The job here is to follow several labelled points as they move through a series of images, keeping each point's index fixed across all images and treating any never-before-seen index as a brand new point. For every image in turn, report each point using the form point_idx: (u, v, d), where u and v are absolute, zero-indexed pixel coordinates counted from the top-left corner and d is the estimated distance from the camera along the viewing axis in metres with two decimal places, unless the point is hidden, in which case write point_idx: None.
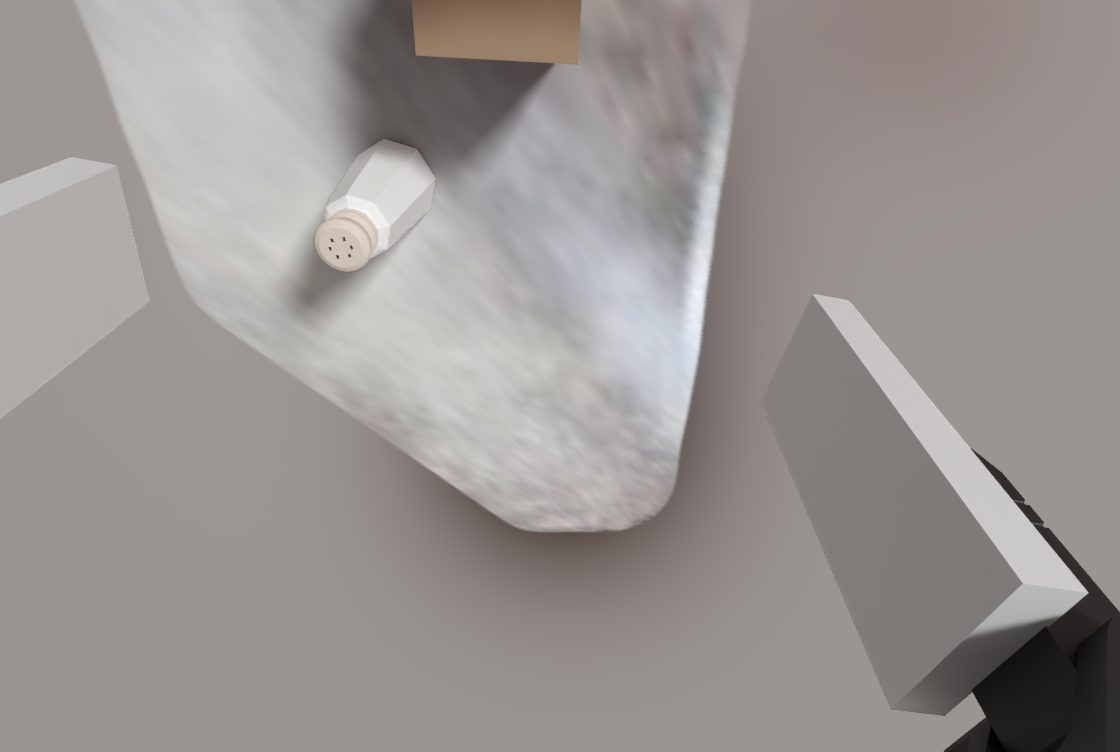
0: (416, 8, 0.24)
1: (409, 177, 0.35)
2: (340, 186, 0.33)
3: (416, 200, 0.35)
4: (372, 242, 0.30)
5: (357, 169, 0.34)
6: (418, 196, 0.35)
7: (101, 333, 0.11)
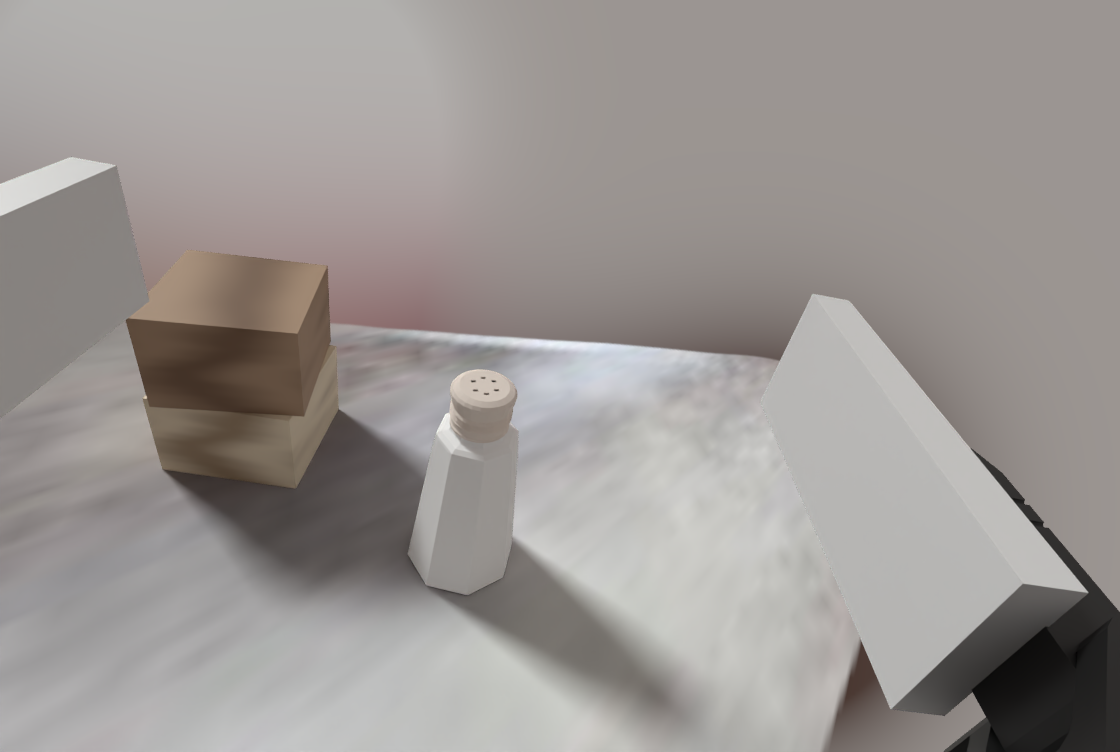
0: (257, 327, 0.27)
1: None
2: (439, 492, 0.26)
3: None
4: None
5: (426, 508, 0.27)
6: None
7: (101, 334, 0.11)
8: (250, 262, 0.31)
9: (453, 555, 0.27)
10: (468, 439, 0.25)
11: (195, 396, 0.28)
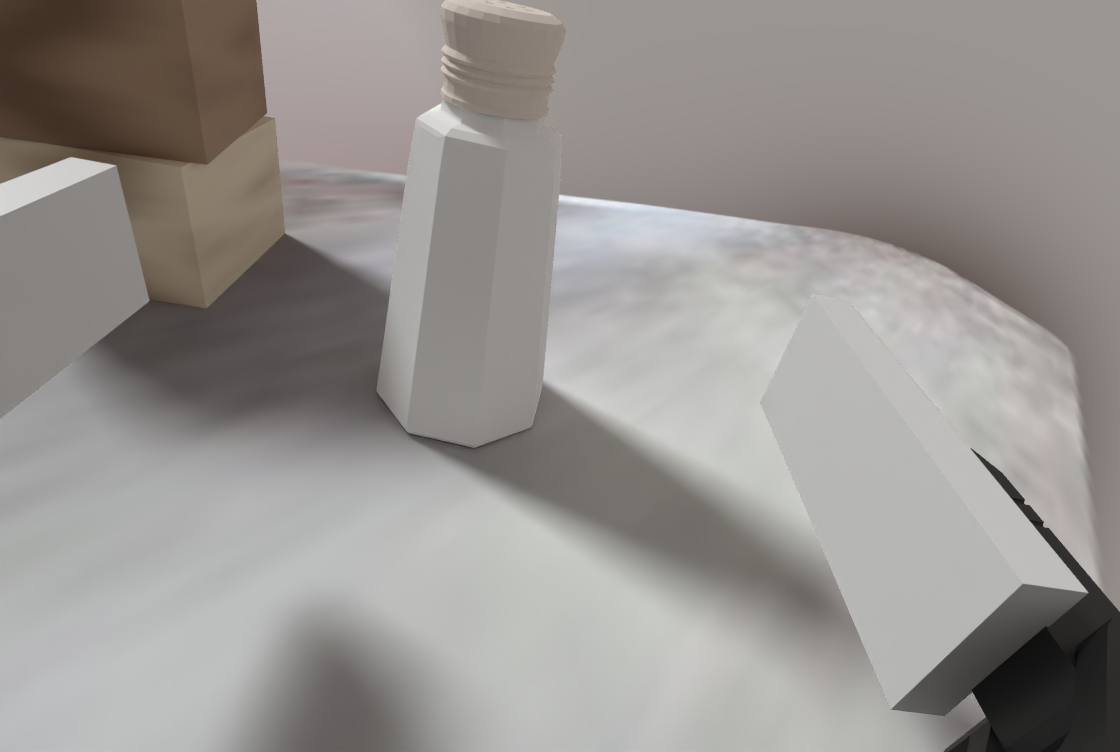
0: None
1: None
2: (424, 235, 0.14)
3: None
4: None
5: (404, 284, 0.16)
6: None
7: (101, 334, 0.11)
8: None
9: (450, 367, 0.16)
10: (476, 107, 0.13)
11: (15, 110, 0.17)
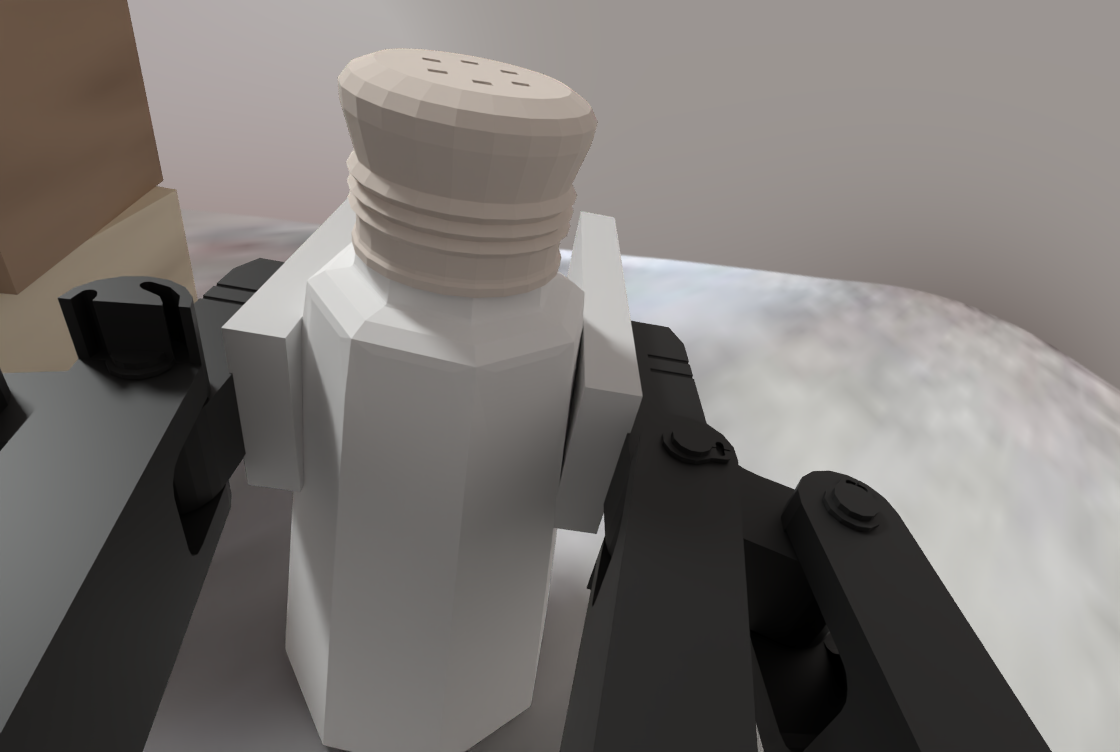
0: None
1: None
2: (328, 488, 0.08)
3: None
4: None
5: (307, 538, 0.09)
6: None
7: None
8: None
9: (389, 675, 0.09)
10: (414, 281, 0.06)
11: None
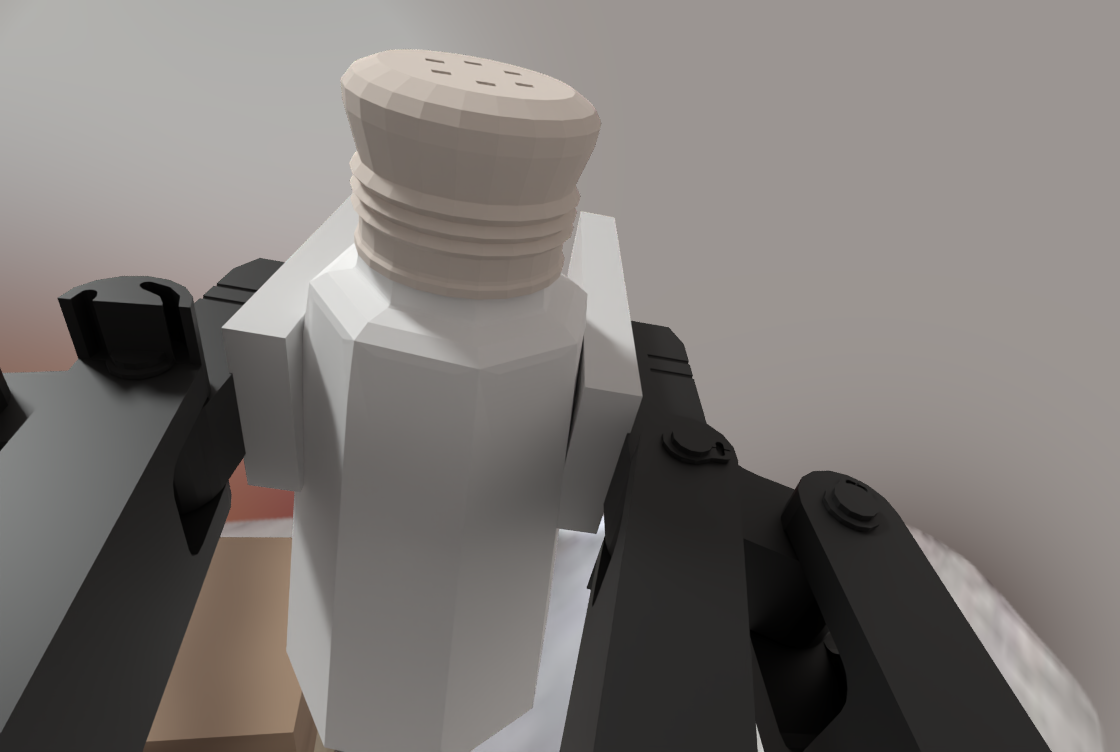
0: (229, 729, 0.17)
1: None
2: (331, 490, 0.08)
3: None
4: None
5: (308, 539, 0.09)
6: None
7: None
8: (222, 551, 0.21)
9: (391, 678, 0.09)
10: (417, 283, 0.06)
11: None
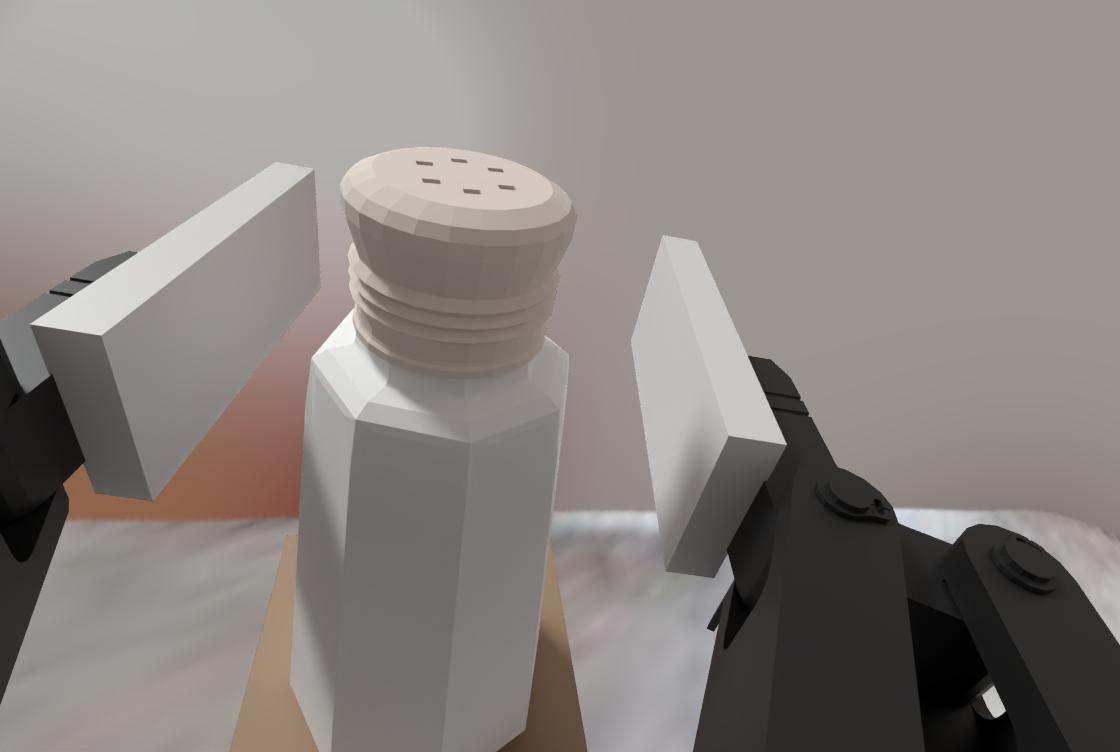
0: None
1: None
2: (334, 546, 0.08)
3: None
4: None
5: (312, 585, 0.10)
6: None
7: (293, 315, 0.12)
8: None
9: (392, 712, 0.10)
10: (412, 366, 0.07)
11: None
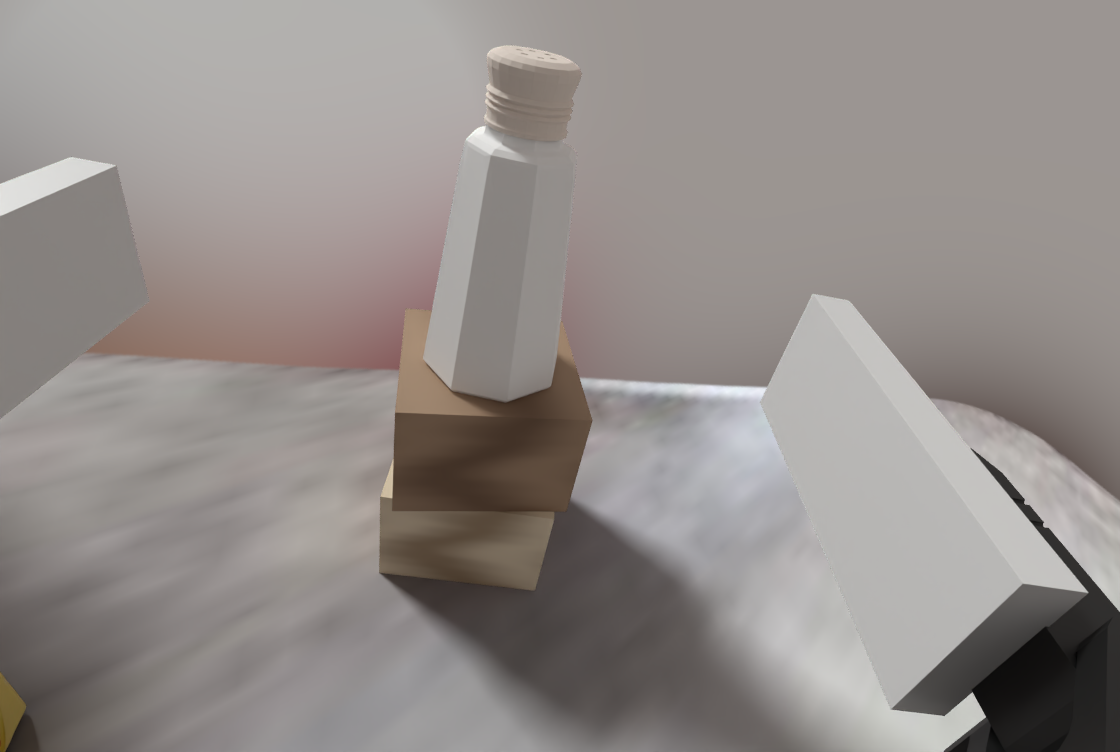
0: (545, 415, 0.21)
1: None
2: (471, 231, 0.19)
3: None
4: None
5: (451, 270, 0.20)
6: None
7: (101, 333, 0.11)
8: None
9: (489, 336, 0.20)
10: (514, 133, 0.17)
11: (449, 496, 0.23)
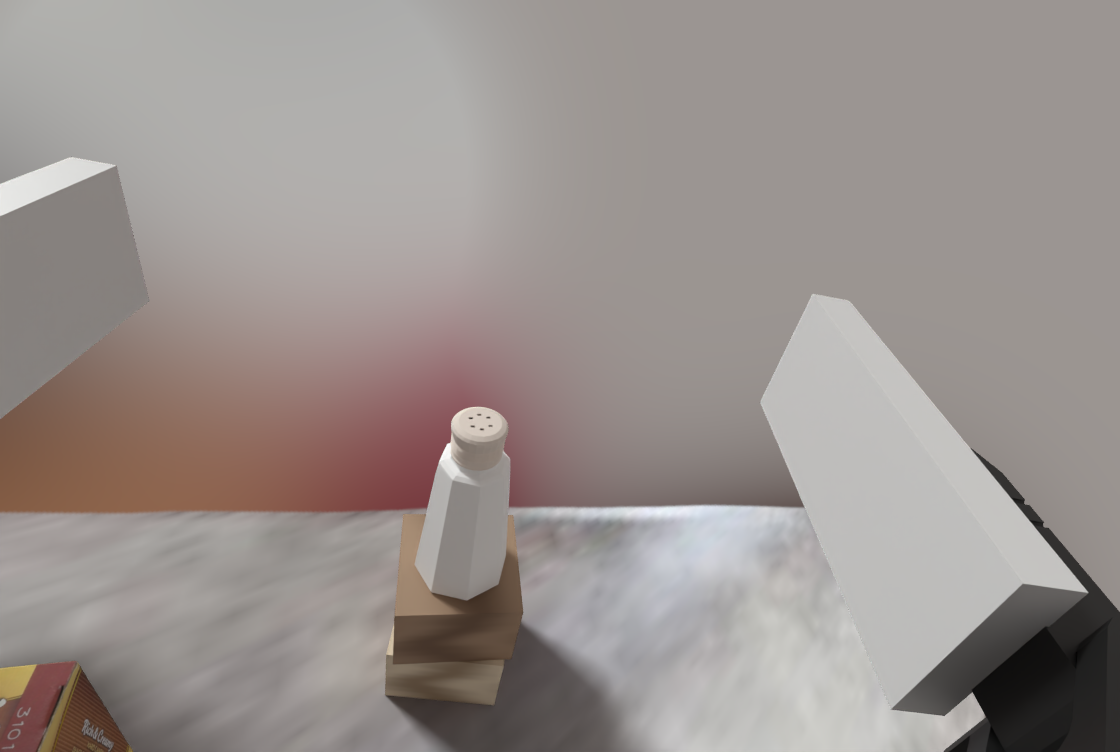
0: (492, 610, 0.33)
1: None
2: (442, 512, 0.30)
3: None
4: None
5: (431, 525, 0.31)
6: None
7: (101, 334, 0.11)
8: None
9: (454, 566, 0.32)
10: (466, 467, 0.29)
11: (430, 655, 0.34)
